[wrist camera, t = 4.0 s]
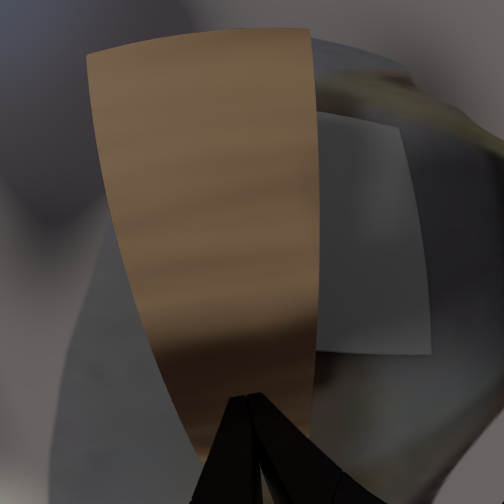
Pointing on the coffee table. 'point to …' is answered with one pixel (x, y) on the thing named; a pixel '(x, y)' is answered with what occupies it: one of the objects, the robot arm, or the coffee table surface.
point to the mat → (369, 243)
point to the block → (217, 212)
